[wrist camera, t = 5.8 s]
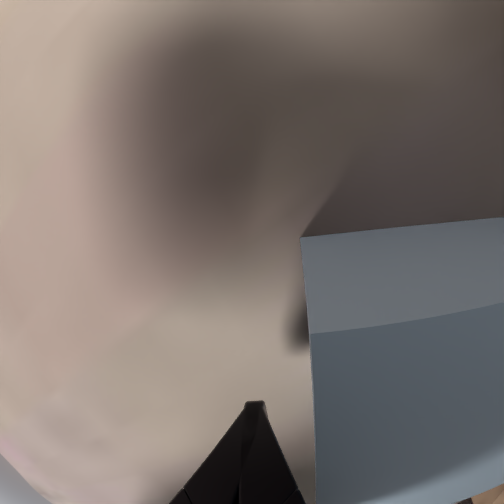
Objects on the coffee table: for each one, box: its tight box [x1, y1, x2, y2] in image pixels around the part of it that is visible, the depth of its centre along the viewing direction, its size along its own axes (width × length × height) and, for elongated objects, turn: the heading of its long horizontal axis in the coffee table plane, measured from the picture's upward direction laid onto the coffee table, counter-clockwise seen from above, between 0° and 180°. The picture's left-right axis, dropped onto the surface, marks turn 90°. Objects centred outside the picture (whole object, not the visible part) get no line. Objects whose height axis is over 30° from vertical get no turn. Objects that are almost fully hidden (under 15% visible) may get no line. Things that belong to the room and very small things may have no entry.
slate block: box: [300, 217, 504, 504], centre depth 6 cm, size 7×9×4 cm
